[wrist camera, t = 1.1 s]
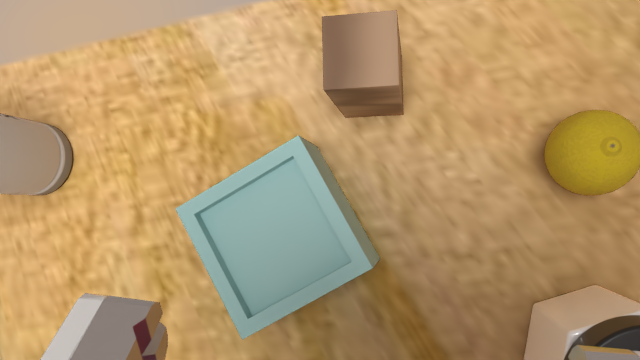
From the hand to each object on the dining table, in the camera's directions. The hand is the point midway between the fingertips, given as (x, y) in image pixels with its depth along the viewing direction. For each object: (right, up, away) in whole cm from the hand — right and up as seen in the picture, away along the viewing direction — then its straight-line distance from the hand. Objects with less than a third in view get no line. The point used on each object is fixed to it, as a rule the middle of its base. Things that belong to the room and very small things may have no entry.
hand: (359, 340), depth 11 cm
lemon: (+18, +5, +28) cm, 34 cm away
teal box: (-3, -1, +32) cm, 32 cm away
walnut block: (+3, +10, +31) cm, 33 cm away
